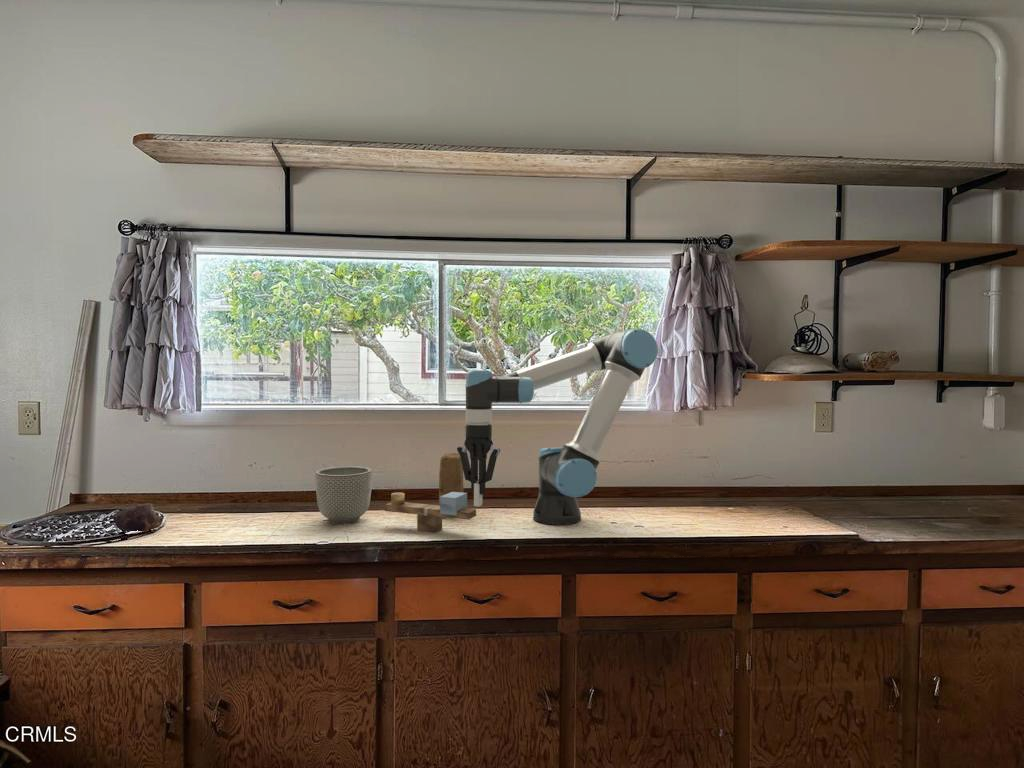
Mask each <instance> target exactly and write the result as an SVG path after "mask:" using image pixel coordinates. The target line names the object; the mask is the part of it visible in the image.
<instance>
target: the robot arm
mask: <svg viewBox="0 0 1024 768" xmlns="http://www.w3.org/2000/svg"><path fill="white" fill-rule="evenodd" d="M658 353H659V347H658V343H657V340H656V338H655V337H654V336H653V334H652V333H651V332H650V331H649V332H648V330H646V329H640V328H630V329H627V330H618V331H614V332H612V333H609V334H607V335H606V336H603V337H601V338H599V339H596V340H594V341H591V342H588V343H587V345H586V347H582V348H580V349H577V350H574V351H570V352H568V353H565V354H563V355H560V356H557V357H554V358H550V359H547V360H545V361H542V362H538V363H536V364H533V365H530V366H526V367H523V368H522V369H521V368H520V369H518V370H516V371H514V372H513V371H512V372H510V373H507V374H504V375H497V376H494V375H493V371H492V370H490V369H469V370H467V372H466V375H465V376H466V379H465V384H464V385H465V422H466V423H467V424H466V425H465V440H464V443H463V444H462V445H461V446H457V448H456V451H457V453H459V454H460V457H461V462H462V467H463V477H464V479H465V481H468V482H470V484H471V485H470V489H471V490H470V493H471V495H472V494H473V507H476V508H477V507H481V506H482V505H483V500H484V499H483V495H485V494H486V484H487V482H490V481H492V479H493V474H494V471H495V467H496V463H497V458H498V456H499V454H500V452H501V449H500V448H497V447H496V446H495V445H494V442H493V440H492V437H493V436H492V435H493V434H492V433H493V432H492V431H493V429H492V428H493V426H492V424H491V423H492V421H493V420H492V419H493V414H492V413H493V411H492V410H493V404H496V403H497V404H498V403H503V404H509V403H510V404H512V403H513V404H514V403H517V404H523V403H525V404H526V403H531V402H532V400H533V397H534V391H536V390H538V389H541V388H545V387H548V386H550V385H553V384H557V383H559V382H561V381H565V380H568V379H571V378H574V377H576V376H580V375H583V374H586V373H588V372H592V371H596V372H600V371H604V370H605V373H604V375H603V377H602V379H601V380H600V383H599V385H598V386H597V388H596V390H595V393H594V395H593V397H592V399H591V401H590V403H589V405H588V408H587V409H586V412H585V414H584V416H583V418H582V419H581V421H580V423H579V426H578V428H577V430H576V432H575V434H574V436H573V437H572V440H571V441H569V442H566V443H564V444H563V447H543V448H540V450H539V453H538V497H537V498H536V499H537V500H536V503H535V506H534V509H533V518H532V519H533V520H534V521H535V522H537V523H541V524H544V525H545V524H547V525H552V526H553V525H554V526H555V525H559V526H560V525H572V524H577V523H579V522H581V521H582V520H581V518H582V511H581V509H580V506H579V503H578V499H577V498H582V497H585V496H586V495H588V494H590V492H592V491H593V489H594V488H595V486H596V483H597V480H598V479H597V478H598V475H597V469H598V467H599V464H600V462H601V460H600V457H599V452H600V451H601V448H602V446H603V444H604V442H605V440H606V438H607V436H608V434H609V431H610V429H611V428H612V425H613V423H614V421H615V420H616V418H617V415H618V413H619V411H620V409H621V406H622V405H623V402H624V401H625V398H626V397H627V395H628V392H629V391H630V388H631V386H632V384H633V383H634V382H638V381H639V380H640V379H641V377H642V375H643V374H644V372H645V369H646V368H649V367H650V366H652V365H653V364H654V363H655V361H656V359H657V357H658ZM467 451H468V452H467ZM489 452H490V456H489V458H488V453H489ZM468 453H469V455H468ZM487 459H489V460H488V463H487Z"/></svg>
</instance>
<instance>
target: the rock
mask: <svg viewBox="0 0 1024 768" xmlns="http://www.w3.org/2000/svg"><path fill="white" fill-rule="evenodd" d="M112 520H113V522H114V524H115V525H116V528H117V527H118V528H119V529H121V530H126V531H137V530H138V531H144V532H143V533H147V532H149V531H148V530H151V529H154V528H156V529H157V528H160V527H161V526H162V524H163V521H164V518H163V516H162V515H157V514H156V511H155V508H154V507H153V504H152V503H149V502H148V503H142V504H137V505H135V506H134V507H130V508H129V507H128V508H124V509H122V510H119V512H116V513H115V514H114V515H113V516H112ZM118 528H117V529H118ZM154 530H155V529H154Z"/></svg>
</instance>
